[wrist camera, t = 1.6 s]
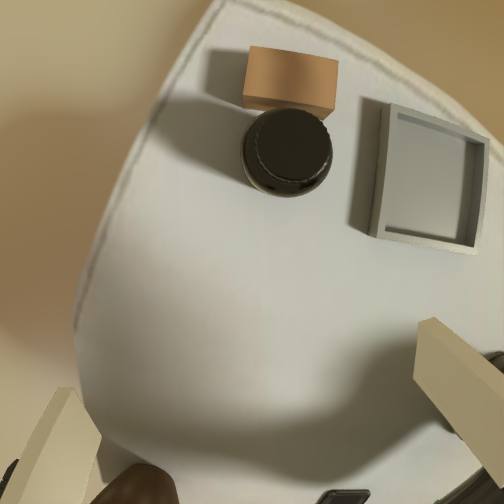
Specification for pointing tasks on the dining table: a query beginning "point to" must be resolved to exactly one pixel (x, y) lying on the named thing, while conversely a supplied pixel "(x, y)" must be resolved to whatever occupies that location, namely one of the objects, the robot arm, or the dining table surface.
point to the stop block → (290, 81)
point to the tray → (429, 182)
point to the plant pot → (139, 487)
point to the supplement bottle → (286, 152)
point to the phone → (346, 497)
